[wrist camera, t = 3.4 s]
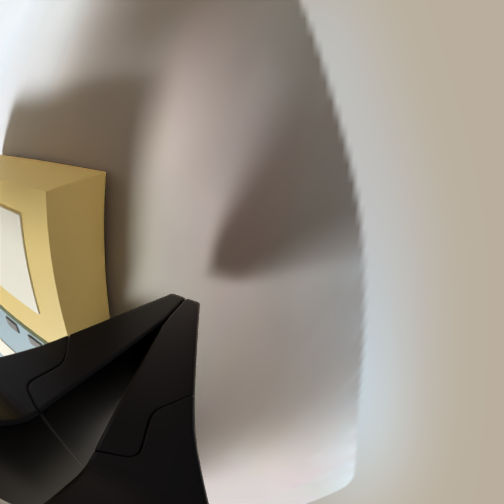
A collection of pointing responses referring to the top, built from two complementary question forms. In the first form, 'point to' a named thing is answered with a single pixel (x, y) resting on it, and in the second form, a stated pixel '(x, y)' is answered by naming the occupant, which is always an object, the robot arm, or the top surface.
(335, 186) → the top surface
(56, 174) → the yellow box
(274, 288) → the top surface
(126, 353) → the robot arm
